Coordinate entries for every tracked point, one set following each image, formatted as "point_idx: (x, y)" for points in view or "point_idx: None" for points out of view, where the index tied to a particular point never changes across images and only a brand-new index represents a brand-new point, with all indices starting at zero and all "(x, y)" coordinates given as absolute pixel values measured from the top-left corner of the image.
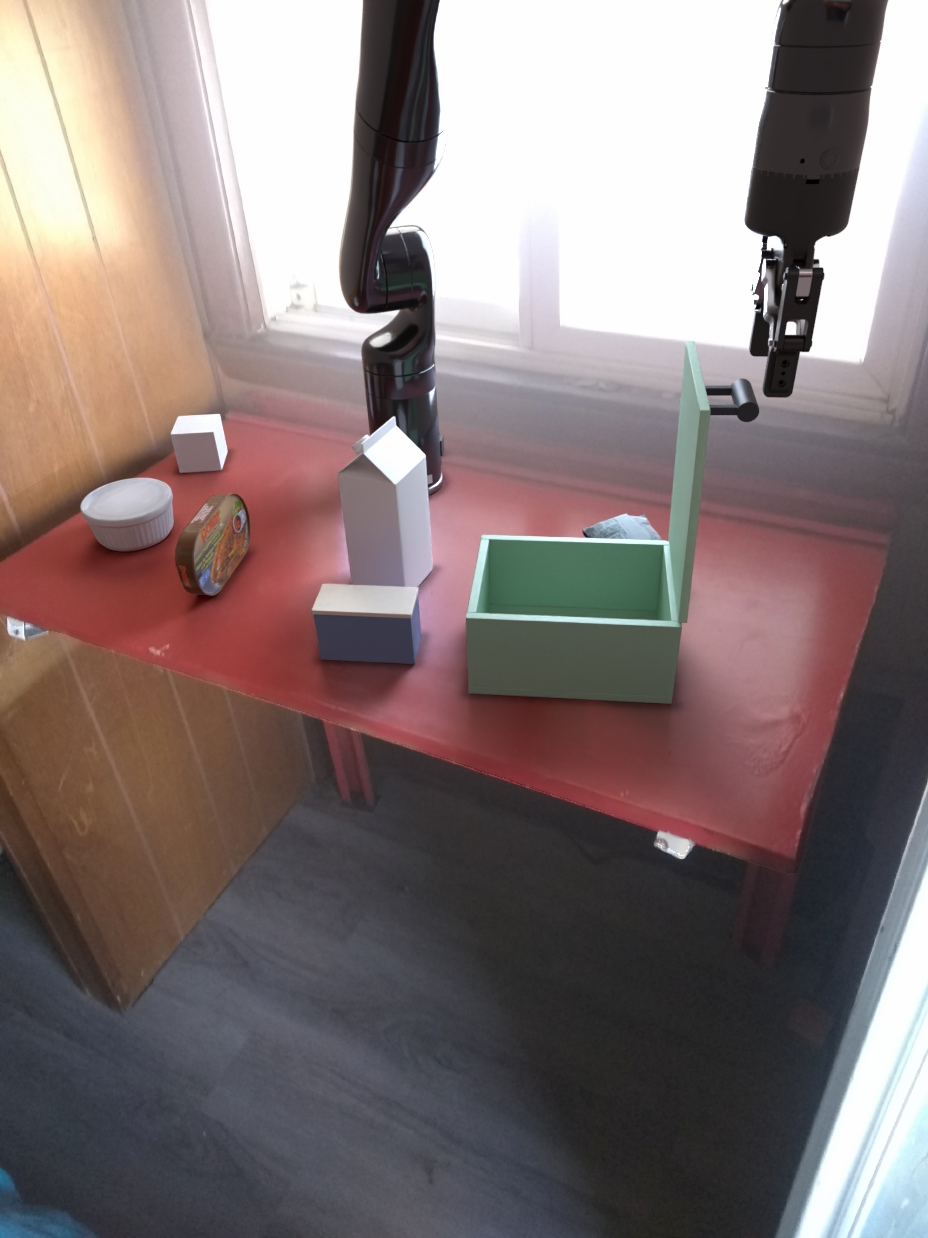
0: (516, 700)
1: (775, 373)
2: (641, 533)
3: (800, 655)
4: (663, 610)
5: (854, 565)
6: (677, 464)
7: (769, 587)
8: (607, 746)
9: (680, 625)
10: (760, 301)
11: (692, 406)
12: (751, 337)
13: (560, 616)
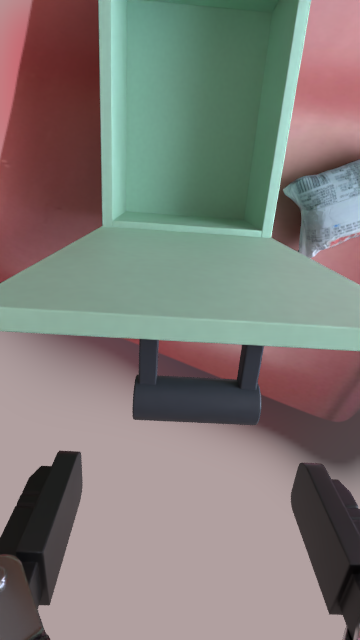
0: None
1: (13, 512)
2: (348, 215)
3: None
4: (187, 220)
5: (303, 396)
6: (274, 257)
7: None
8: (58, 152)
9: None
10: (358, 617)
11: (141, 295)
12: (326, 493)
13: (111, 80)
